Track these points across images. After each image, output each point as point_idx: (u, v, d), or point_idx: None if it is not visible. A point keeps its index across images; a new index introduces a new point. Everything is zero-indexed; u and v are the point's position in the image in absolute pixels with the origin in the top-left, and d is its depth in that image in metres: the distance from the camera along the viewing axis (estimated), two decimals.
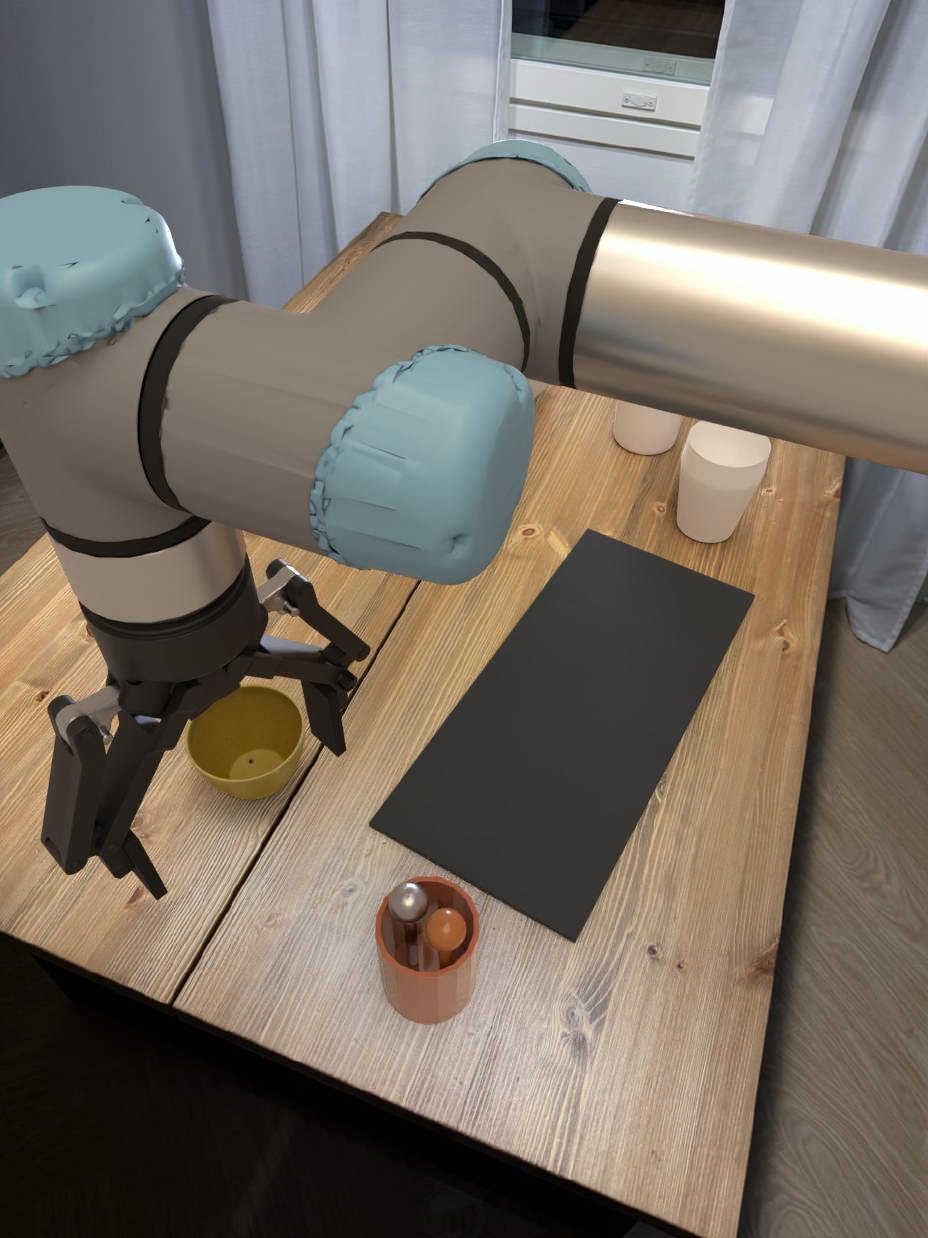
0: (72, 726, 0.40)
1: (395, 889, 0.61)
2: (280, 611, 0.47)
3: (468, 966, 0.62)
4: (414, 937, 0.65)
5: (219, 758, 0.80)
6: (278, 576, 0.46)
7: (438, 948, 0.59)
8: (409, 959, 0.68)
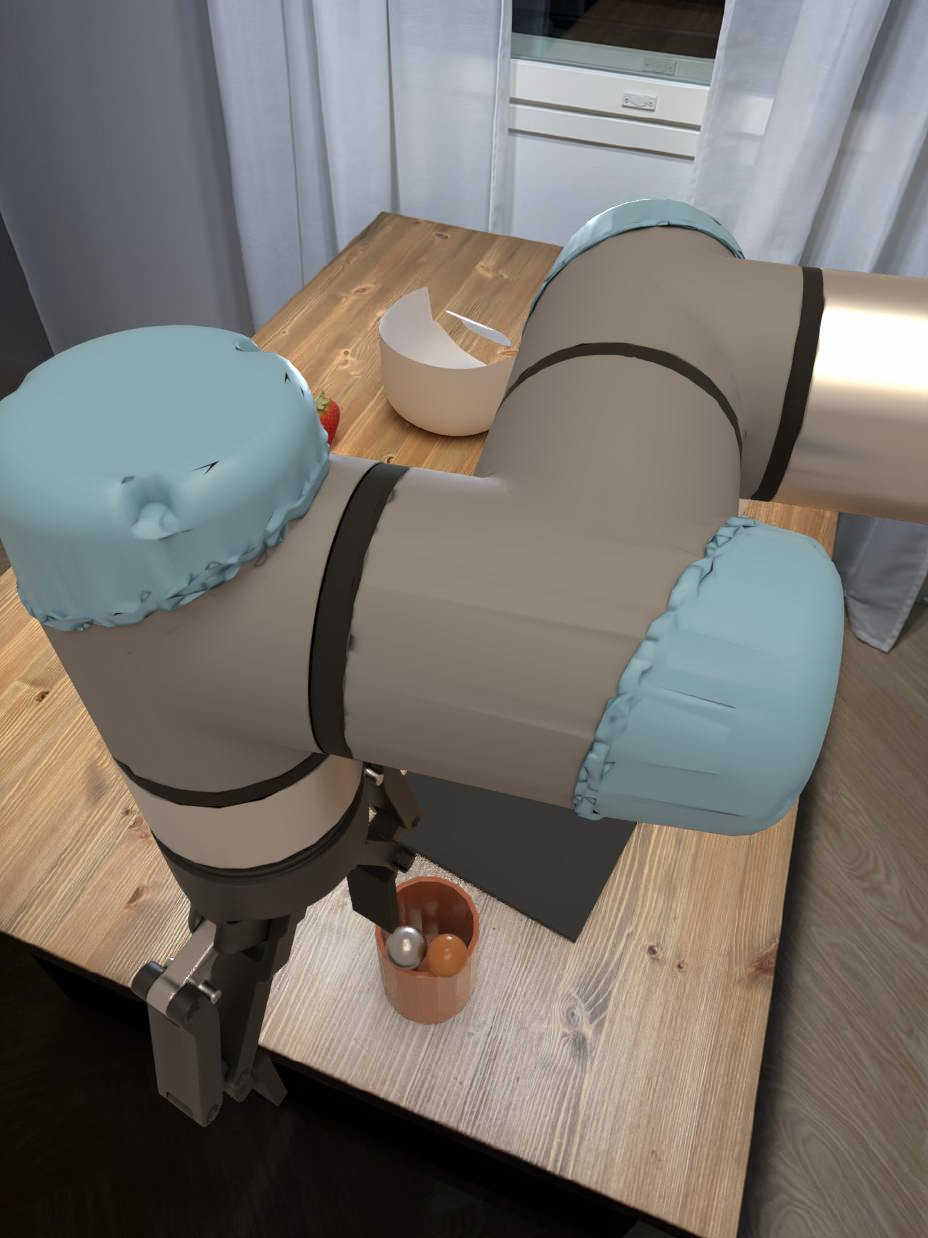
0: (173, 1009, 0.31)
1: (392, 937, 0.59)
2: None
3: (468, 966, 0.62)
4: None
5: None
6: None
7: (439, 976, 0.58)
8: None
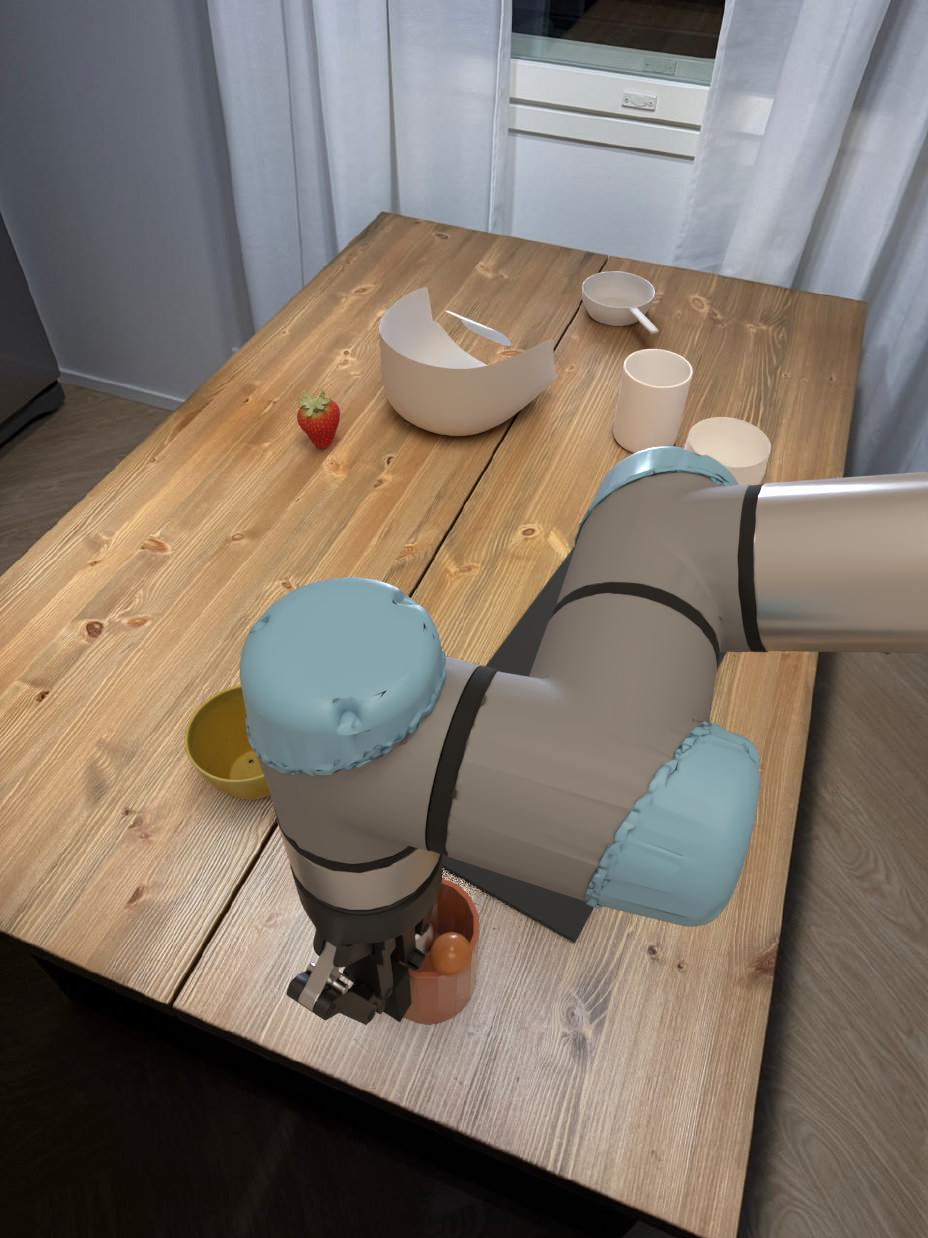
0: (316, 1012, 0.45)
1: None
2: None
3: None
4: None
5: (219, 757, 0.80)
6: None
7: (443, 974, 0.58)
8: None
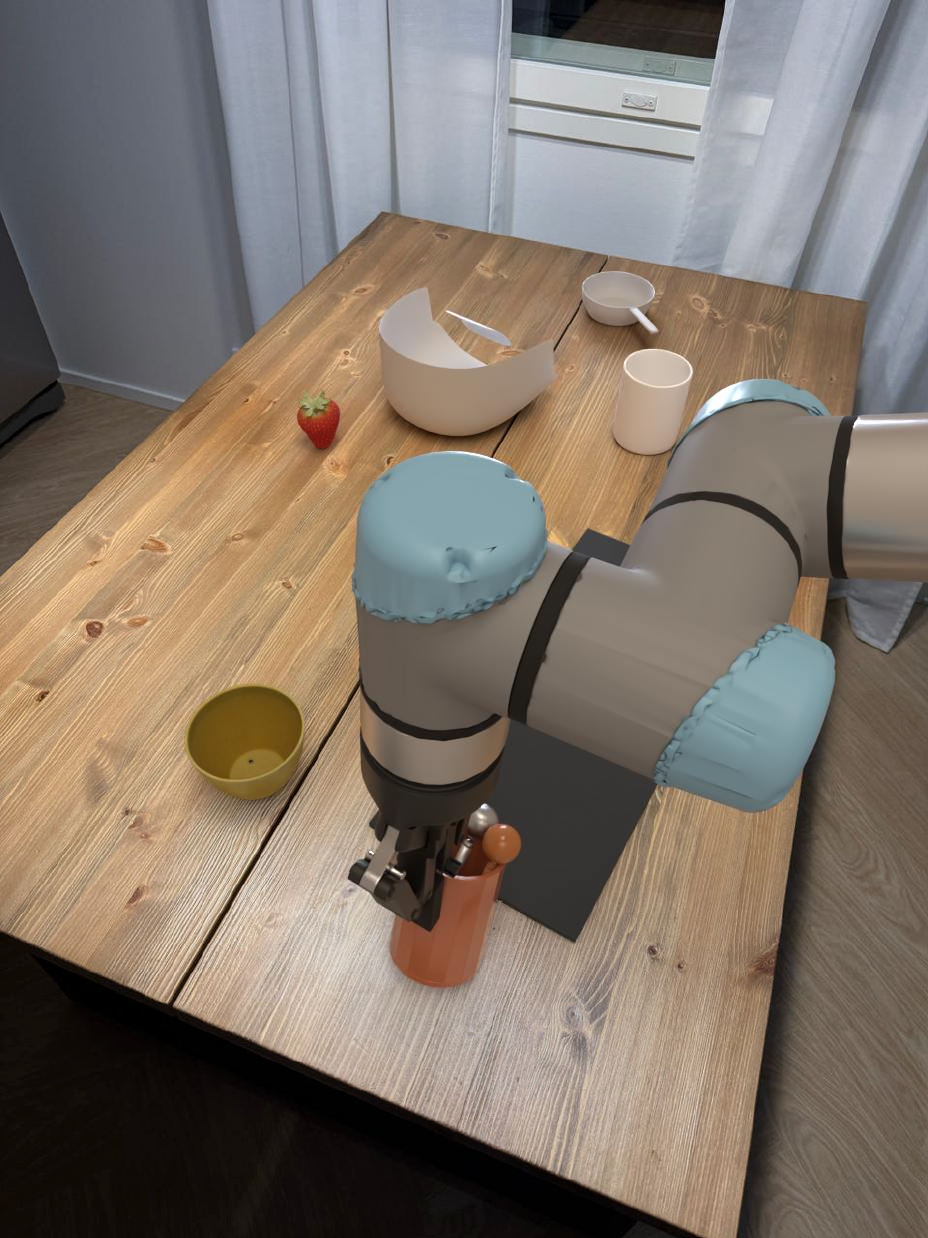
0: (377, 893, 0.47)
1: None
2: None
3: (492, 893, 0.64)
4: None
5: (219, 757, 0.80)
6: None
7: (495, 850, 0.63)
8: None
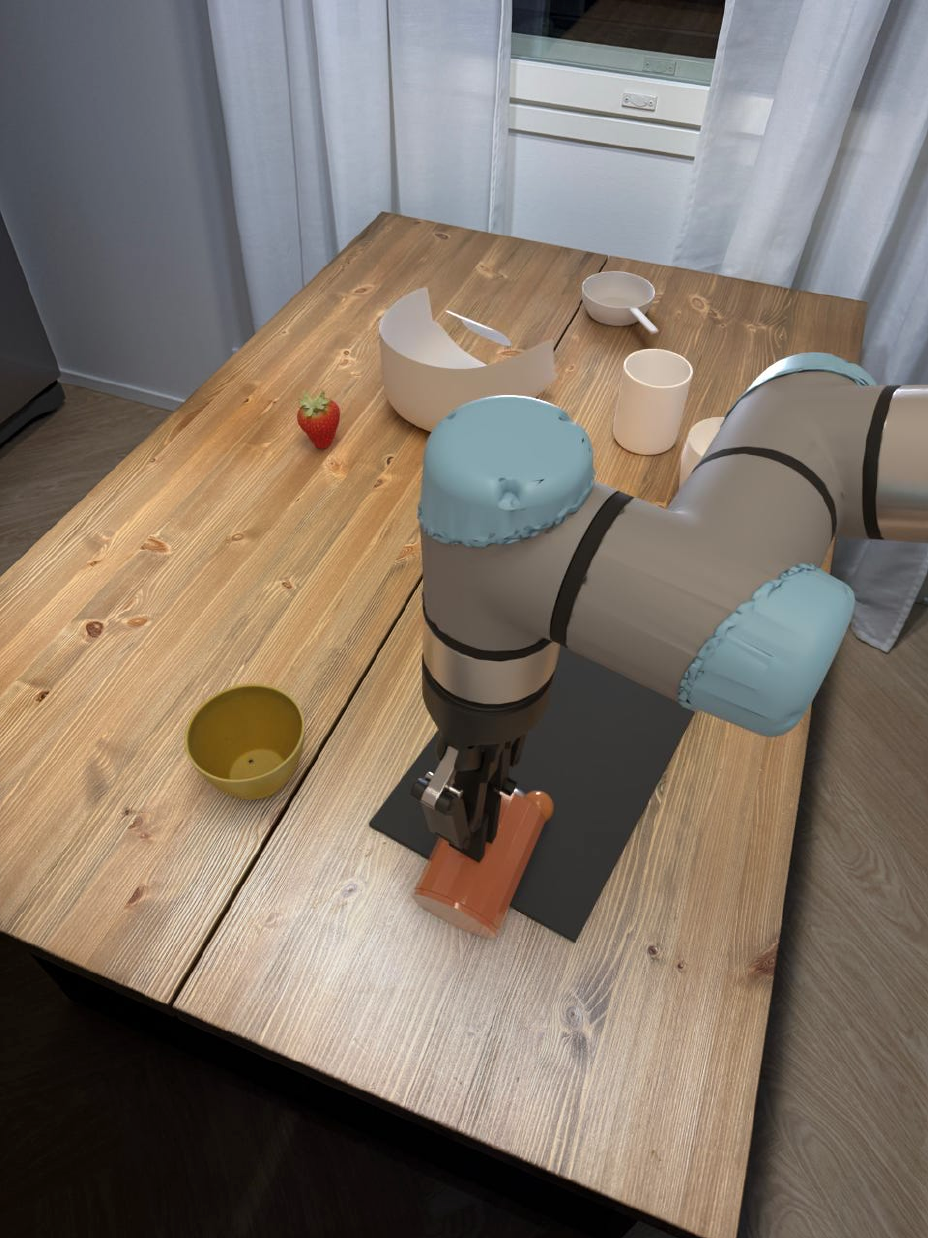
0: (438, 807, 0.51)
1: None
2: None
3: (536, 837, 0.71)
4: None
5: (219, 757, 0.80)
6: None
7: (526, 795, 0.75)
8: None
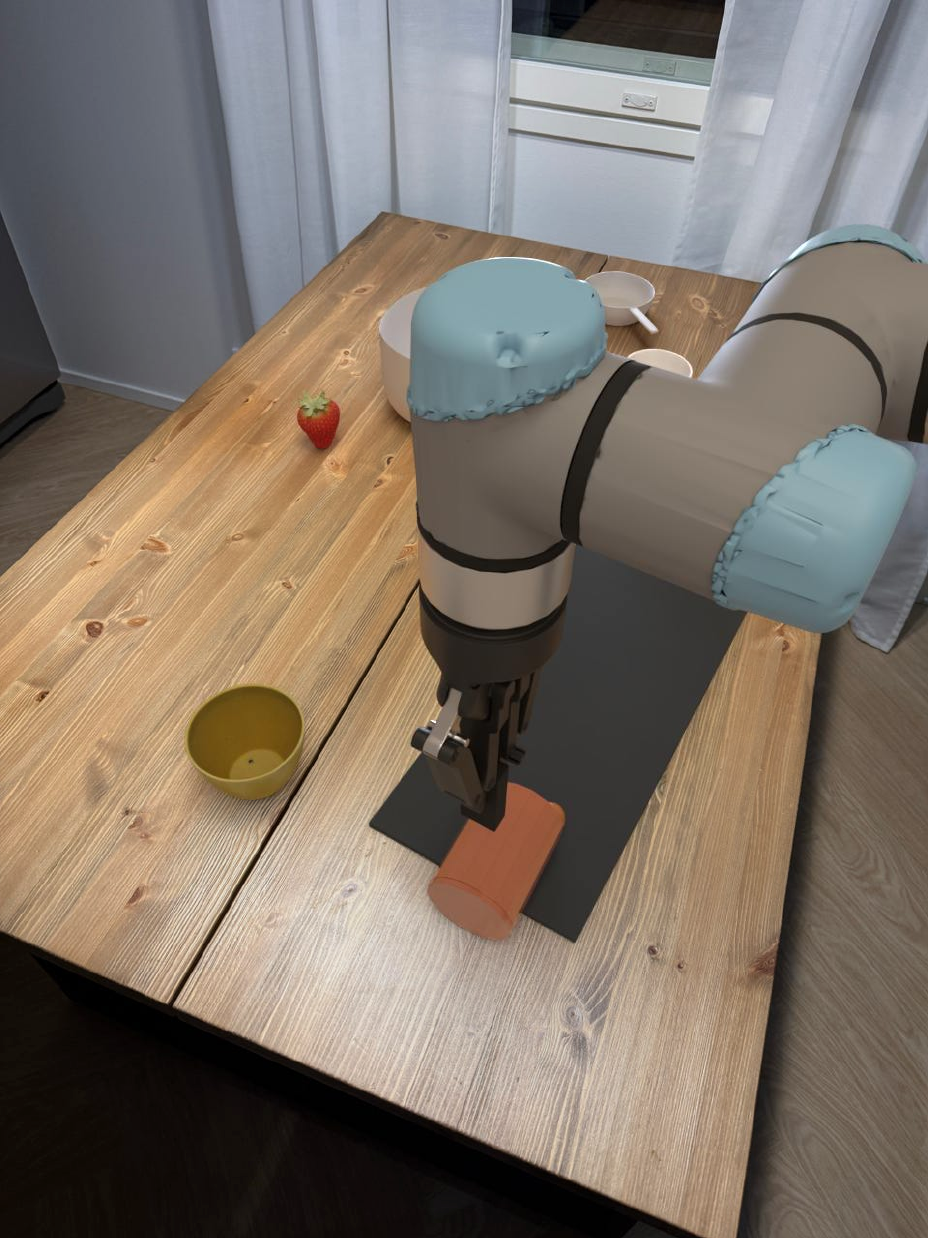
0: (441, 757, 0.46)
1: None
2: None
3: (553, 848, 0.72)
4: None
5: (219, 758, 0.80)
6: None
7: None
8: None
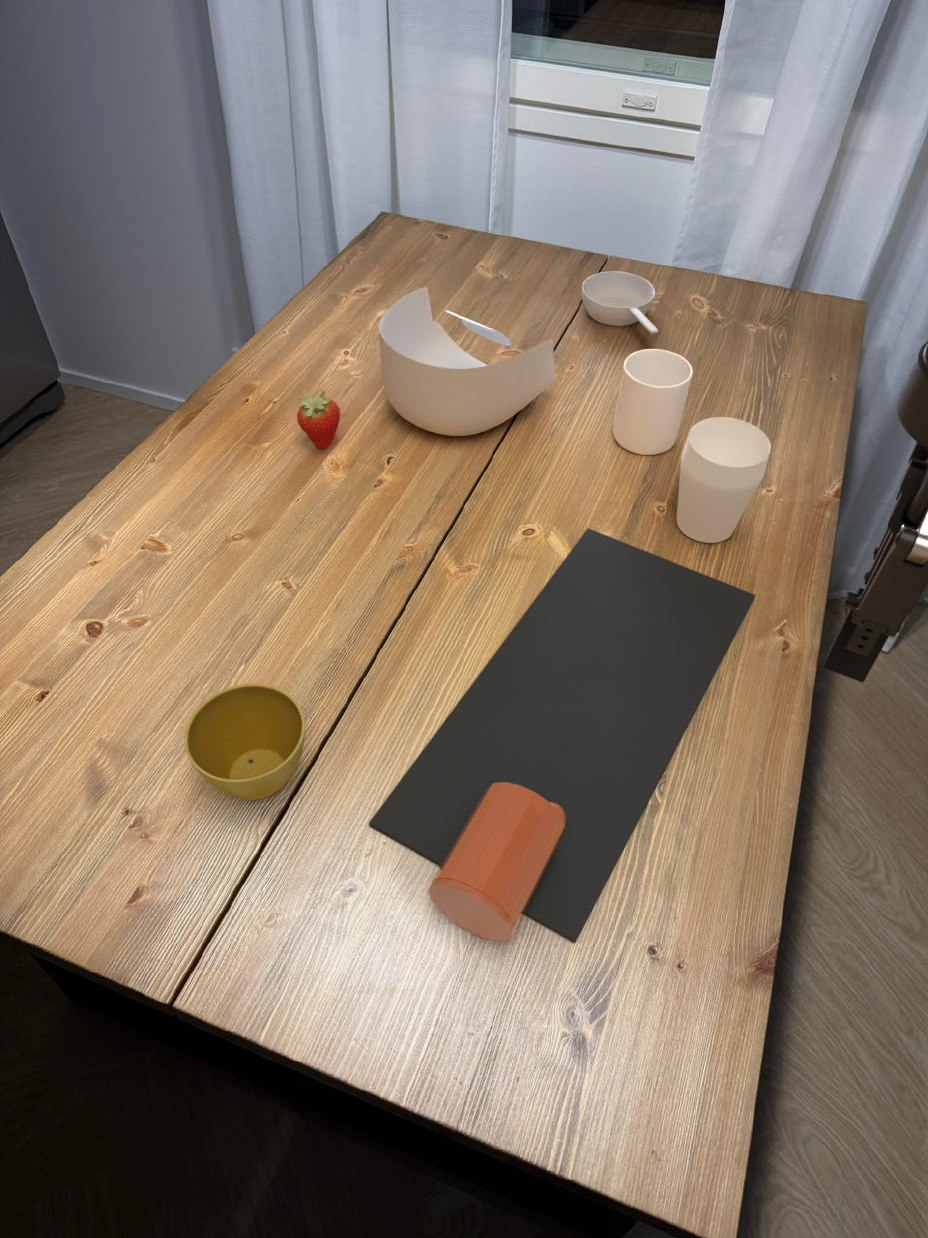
0: None
1: None
2: None
3: (554, 850, 0.72)
4: None
5: (219, 757, 0.80)
6: None
7: None
8: None
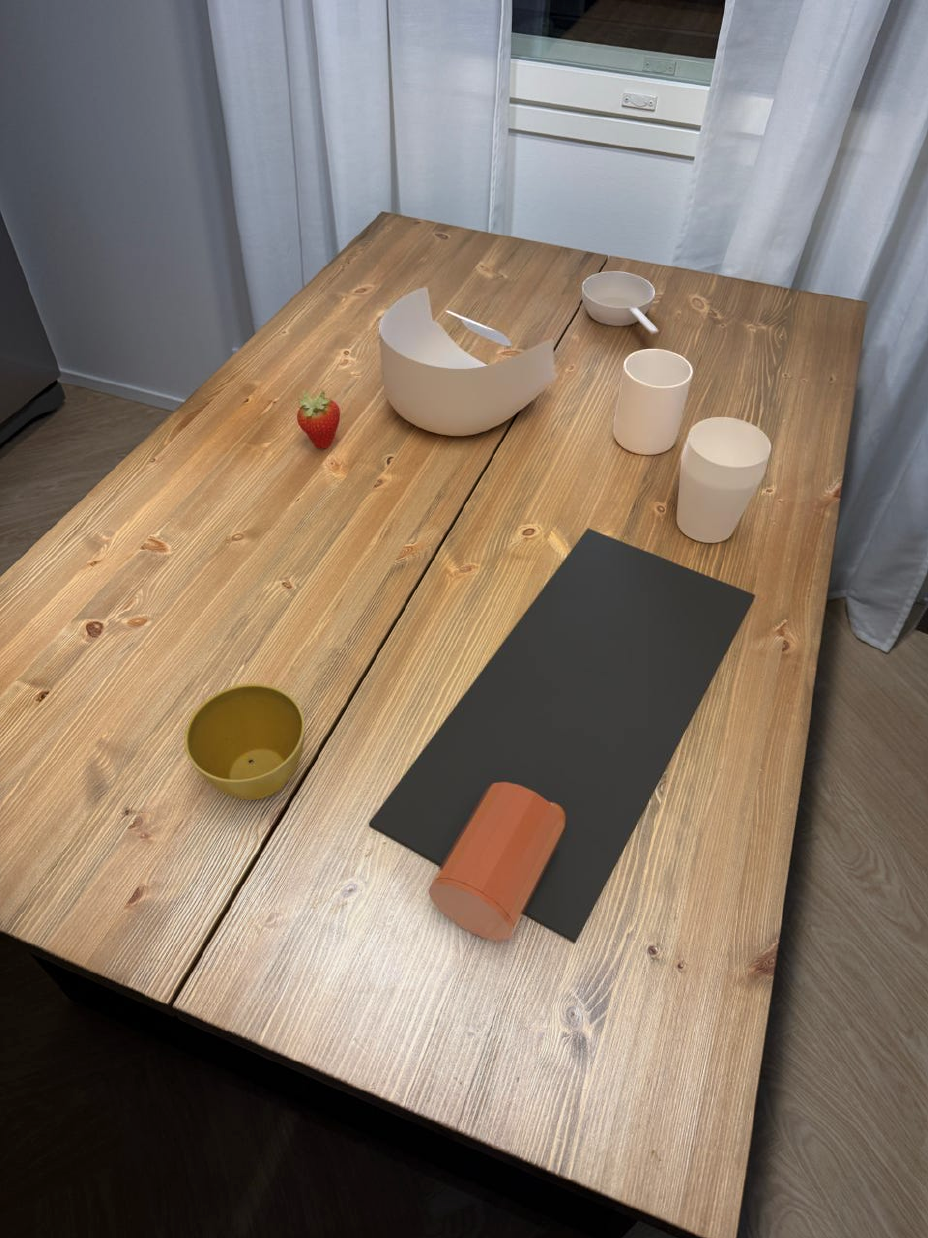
0: None
1: None
2: None
3: (554, 850, 0.72)
4: None
5: (219, 757, 0.80)
6: None
7: None
8: None
